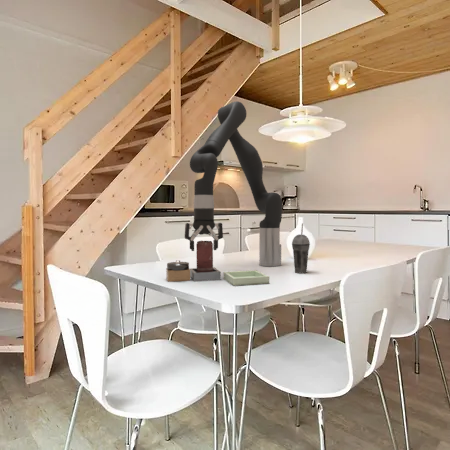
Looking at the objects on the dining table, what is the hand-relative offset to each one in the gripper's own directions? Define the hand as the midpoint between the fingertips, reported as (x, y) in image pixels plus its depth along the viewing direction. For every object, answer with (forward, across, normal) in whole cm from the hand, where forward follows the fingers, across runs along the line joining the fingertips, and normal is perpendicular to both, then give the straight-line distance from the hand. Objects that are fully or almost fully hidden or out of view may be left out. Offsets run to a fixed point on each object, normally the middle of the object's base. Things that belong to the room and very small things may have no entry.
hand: (203, 250), depth 135 cm
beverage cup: (+10, -40, 0) cm, 42 cm away
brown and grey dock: (+11, +4, 0) cm, 11 cm away
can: (+11, 0, 0) cm, 11 cm away
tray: (+10, -13, +10) cm, 20 cm away
